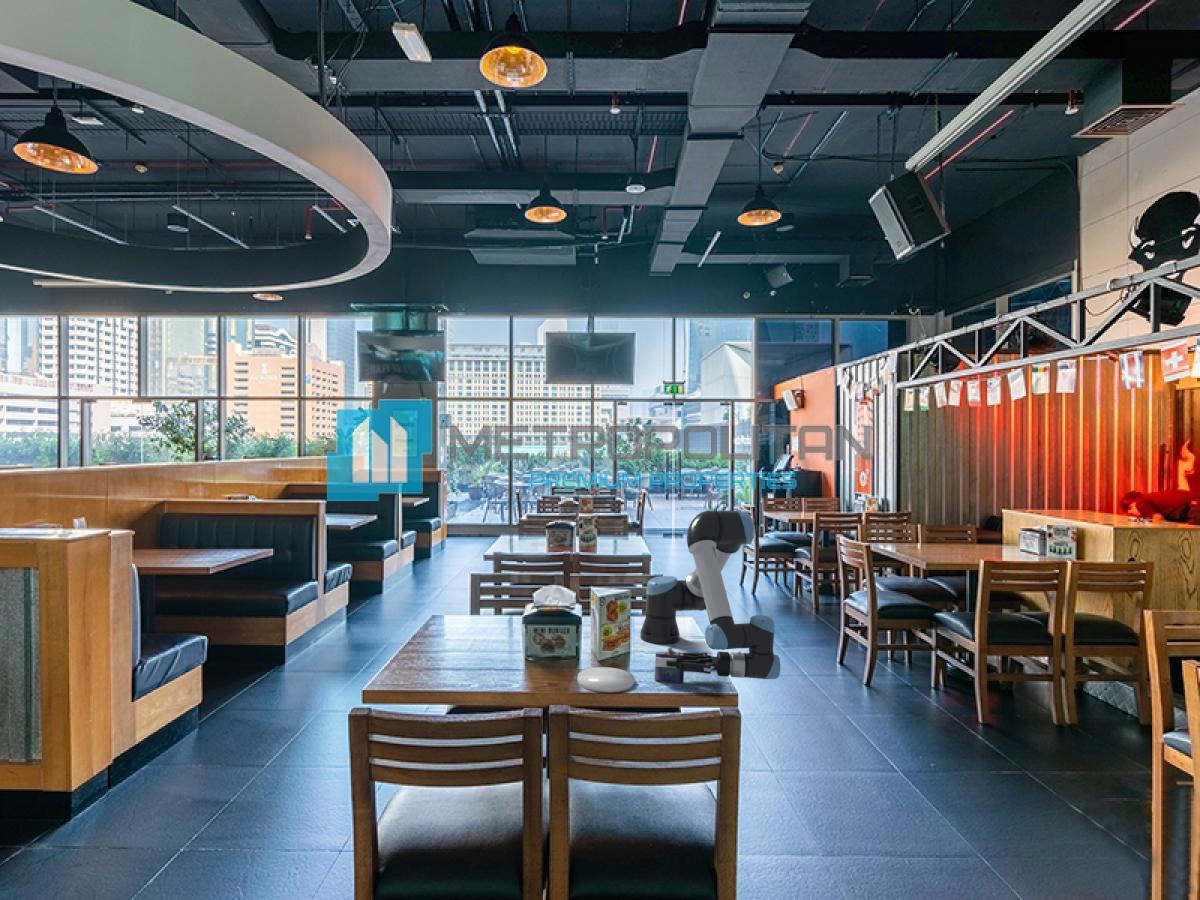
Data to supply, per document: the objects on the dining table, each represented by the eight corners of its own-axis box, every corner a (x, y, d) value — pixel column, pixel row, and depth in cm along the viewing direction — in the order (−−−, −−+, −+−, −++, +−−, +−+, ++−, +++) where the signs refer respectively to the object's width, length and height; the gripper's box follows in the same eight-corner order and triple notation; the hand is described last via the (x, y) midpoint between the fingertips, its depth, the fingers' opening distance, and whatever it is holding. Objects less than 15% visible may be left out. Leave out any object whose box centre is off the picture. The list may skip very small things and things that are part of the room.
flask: (654, 681, 220) (655, 647, 220) (654, 678, 223) (656, 645, 223) (683, 683, 219) (684, 650, 219) (683, 680, 222) (684, 647, 222)
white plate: (580, 670, 228) (580, 665, 228) (634, 673, 227) (635, 669, 227) (574, 690, 210) (574, 685, 210) (633, 694, 209) (634, 689, 209)
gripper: (727, 645, 228) (655, 640, 229) (733, 660, 212) (656, 656, 213) (726, 667, 228) (654, 663, 229) (732, 685, 212) (655, 680, 214)
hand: (655, 659), depth 221 cm, fingers closed on flask, 3 cm apart
